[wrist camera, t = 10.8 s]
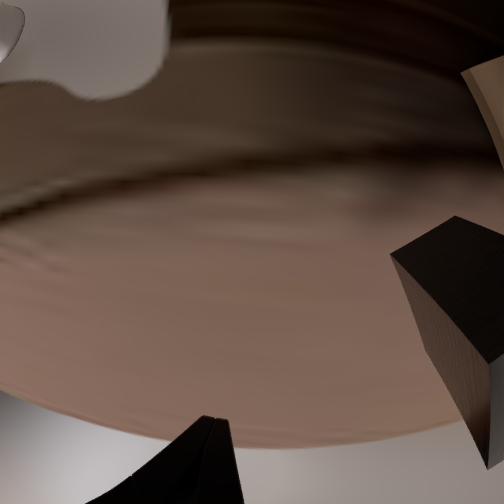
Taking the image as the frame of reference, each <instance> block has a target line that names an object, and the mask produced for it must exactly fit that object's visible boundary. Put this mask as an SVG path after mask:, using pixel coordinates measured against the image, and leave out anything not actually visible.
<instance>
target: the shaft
mask: <svg viewBox="0 0 504 504" xmlns="http://www.w3.org/2000/svg"><path fill="white" fill-rule="evenodd" d="M390 256H391V259H392V261H393V263H394V266H395V268H396V270H397V273H398V275H399V278H400V280H401V283H402V285H403V288H404V291H405V293H406V296H407V298H408V301H409V304H410V307H411V309H412V312H413V315H414V318H415V321H416V323H417V326H418V329H419V332H420V335H421V338H422V342H423V345H424V348H425V351H426V352H427V354H428V356H429V357H430V359H431V361H432V362H433V364H434V366H435V368H436V369H437V371H438V373H439V375H440V376H441V378H442V380H443V382H444V383H445V385H446V387H447V389H448V391H449V393H450V394H451V396H452V398H453V400H454V402H455V404H456V406H457V407H458V409H459V411H460V413H461V415H462V417H463V419H464V421H465V423H466V425H467V427H468V429H469V431H470V433H471V435H472V437H473V440H474V442H475V444H476V446H477V448H478V450H479V452H480V454H481V457H482V459H483V461H484V464H485V466H486V468H487V470H489V469H490V468H492V467H493V466H495V465H496V464H498V463H500V462H501V461H503V460H504V235H502V234H500V233H497V232H495V231H492V230H490V229H488V228H485V227H483V226H480V225H478V224H475V223H473V222H470V221H468V220H465V219H463V218H460V217H457V216H453V217H452V218H450V219H449V220H447V221H445V222H444V223H442V224H440V225H439V226H437V227H435V228H434V229H432V230H430V231H429V232H427V233H425V234H424V235H422V236H420V237H419V238H417V239H415V240H413V241H412V242H410V243H408V244H407V245H405V246H403V247H401V248H399V249H398V250H396V251H394V252H392V253H391V254H390Z"/></svg>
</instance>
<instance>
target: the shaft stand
mask: <svg viewBox="0 0 504 504" xmlns="http://www.w3.org/2000/svg"><path fill="white" fill-rule="evenodd" d="M461 75H462V77H463V78H464V80H465V82H466V84H467V86H468V88H469V89H470V91H471V93H472V95H473V97H474V99H475V101H476V103H477V105H478V107H479V109H480V112H481V114H482V116H483V118H484V120H485V123H486V125H487V127H488V130H489V132H490V134H491V137H492V139H493V142H494V144H495V147H496V150H497V152H498V155H499V158H500V161H501V163H502V166H503V169H504V56H501V57H498V58H495V59H493V60H490V61H487V62H485V63H482V64H480V65H477V66H475V67H472V68H470V69H467V70H465V71H463V72H461Z"/></svg>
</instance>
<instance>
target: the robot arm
mask: <svg viewBox="0 0 504 504" xmlns="http://www.w3.org/2000/svg"><path fill="white" fill-rule="evenodd" d="M85 504H244V499H243V494H242V489H241V484H240V480H239V474H238V470H237V464H236V459H235V454H234V448H233V443H232V437H231V432H230V426H229V421H228V420H227V419H222V418H216V419H215V418H214V417H210V416H205V415H203V416H201V417H200V418H199V419H198V420H197V421H195V422H194V423H193V424H192V425H191V426H190V427H189V428H188V429H186V430H185V431H184V432H183V433H182V434H181V435H179V436H178V437H177V438H176V439H175V440H174V441H172V442H171V443H170V444H169V445H168V446H167V447H165V448H164V449H163V450H162V451H161V452H159V453H158V454H157V455H156V456H154V457H153V458H152V459H151V460H150V461H148V462H147V463H146V464H145V465H143V466H142V467H141V468H140V469H138V470H137V471H136V472H135V473H133V474H132V476H129V477H128V478H126V479H125V480H124V481H123V482H121V483H120V484H118V485H117V486H115V487H114V488H113V489H111V490H109V491H108V492H106V493H104V494H102V495H101V496H99V497H97V498H95V499H93V500H91V501H89V502H87V503H85Z"/></svg>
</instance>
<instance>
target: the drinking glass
mask: <svg viewBox="0 0 504 504" xmlns="http://www.w3.org/2000/svg"><path fill="white" fill-rule="evenodd" d="M24 22H25V16H24V12H23V11H22V10H21V9H20V8H18V7H15V6H12V5H9V4H7V3H4V2H2V1H0V63H1V62H2V61H3V60H5V59H6V58H7V56H8V55H9V54H10V53H11V51H12V50H13V49H14V47H15V45H16V43H17V42H18V40H19V37H20V35H21V33H22V30H23V27H24Z"/></svg>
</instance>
